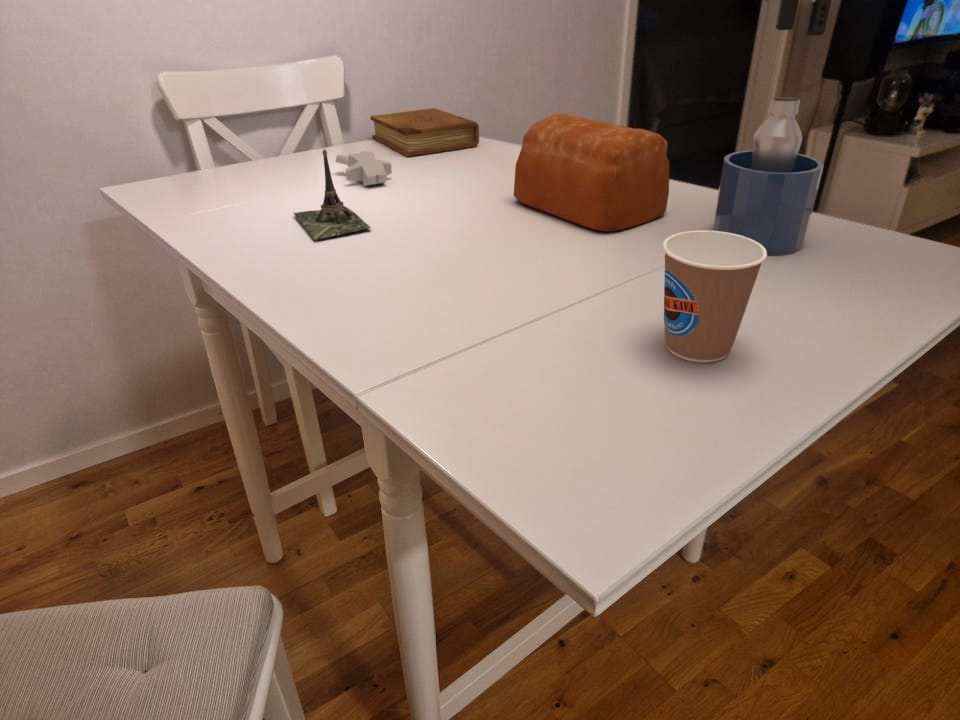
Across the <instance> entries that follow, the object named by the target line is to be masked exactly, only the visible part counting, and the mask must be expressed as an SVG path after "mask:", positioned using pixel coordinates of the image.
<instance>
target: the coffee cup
mask: <svg viewBox="0 0 960 720" xmlns="http://www.w3.org/2000/svg"><path fill="white" fill-rule="evenodd" d="M662 249H663V252H664V279H663V280H664V283H663V284H664V285H663V293H664V294H663V324H664V338H665V346H666V349H667V350H668V351H669V352H670V353H671V354H672V355H674V356H676V357H677V358H680V359H682V360H685V361H688V362H693V363H705V364H706V363H715V362H719V361H721V360H723V359H725V358H727V356H728V355H729V354H730V351H731V348H733V346H734V344H735V341H736V338H737V335H738V332H739V329H740V326H741V323H742V321H743V318H744V315H745V313H746V310H747V306H748V304H749V301H750V298H751V295H752V292H753V289H754V287H755V284H756V280H757V279H758V278H757V277H758V275H759V272H760V269H761V267H762V263H763V262H764V261H766V259H767V257H768V256H767V252H766V249H765V248H764V247H763V246H762V245H761V244H760V243H758V242H756V241H754V240H752V239H750V238H747V237H744V236H741V235H737V234H733V233H728V232H721V231H712V230H708V229H707V230H706V229H705V230H704V229H703V230H701V229H700V230H699V229H698V230H689V231H681V232H678V233H674V234H672V235H670V236H668V237H667V238H666V239H665V240H664V241H663V242H662ZM762 254H763V255H762Z"/></svg>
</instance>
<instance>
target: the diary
mask: <svg viewBox="0 0 960 720" xmlns="http://www.w3.org/2000/svg"><path fill="white" fill-rule="evenodd" d="M370 121H372V122H373V125H374V134H372V135H371V136H372V140H374V141H376V142H378V143H381V144H382V145H384V146H385V147H388V148H390V149H391V150H393V151H396V152H398V153H400V154H402V155H403V156H405V157H407V158H408V157H414V156H421V155H427V154H435V153H441V152H446V151H447V152H448V151H455V150H460V149H467V148H473V147H477V146H478V144H479V143H480V125H479V124H478V123H477V122H476V121H474V120H471V119H468V118H465V117H463V116H459V115H457V114H454V113H450V112H448V111H445V110H441V109H438V108H436V107H433V108H425V109H415V110H408V111H401V112H399V111H398V112H392V113H384V114H383V113H382V114H376V115H370Z"/></svg>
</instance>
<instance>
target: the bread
mask: <svg viewBox="0 0 960 720" xmlns="http://www.w3.org/2000/svg"><path fill="white" fill-rule="evenodd" d="M667 153H668V141H667V140H666V139H665V138H664V137H663V136H662V135H661V134H659V133H657V132H653V131H651V130H648V129H644V128H632V127H630V126H629V127H628V126H625V125H624V126H623V125H620V124H615V123H612V122H606V121H602V120H601V121H600V120H595V119H588V118H586V117H582V116H577V115H573V114H569V113H556V114H555V113H554V114H552V115H549V116H546V117H544V118H541V119H540V120H538V121H536V122H535V123H533V124H532V125H531V126H530V128H529V129H528V130H527V131H526V132H525V133H524V134H523V137H522V145H521V148H520V150H519V154H518V157H517V160H516V162H515V169H514V170H515V171H514V184H513V196H514V198H515V199H516V200H517V201H518V202H519V203H521V204H524V205H526V206H529V207H531V208H533V209H536V210H540V211H543V212H546V213H548V214H551V215H553V216H556V217H559V218H561V219H564V220H566V221H568V222H572V223H575V224H577V225H580V226H582V227H585V228H588V229H591V230H596V231H602V232H613V231H614V232H615V231H622V230H625V229H629V228H632V227H637V226H639V225H643V224H645V223H648V222H650V221H653V220H656V219H658V218H660V217H662V216H663V215H664V214H665V213H666V212H667V206H668V201H669V194H670V160H669V158H668V157H667Z"/></svg>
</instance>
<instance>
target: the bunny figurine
mask: <svg viewBox="0 0 960 720" xmlns="http://www.w3.org/2000/svg"><path fill="white" fill-rule="evenodd" d="M334 162H335V163H336V164H342V165H346V166H347V168H346V169H345V175H346V181H349V182H350V181H352V182H361V183H362V186H363V187H369V186H375V185H381V184H385V183H387V182H388V177H387V176H390V175H392V163H391V162H390V161H385V160H381V159H377V158H376V156H375V153H374V152H373V151H371V150H370V151H369V150H362V151H360V152H356V153H350V154H348V155H346V154H337V155H336V157H335V161H334Z"/></svg>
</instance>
